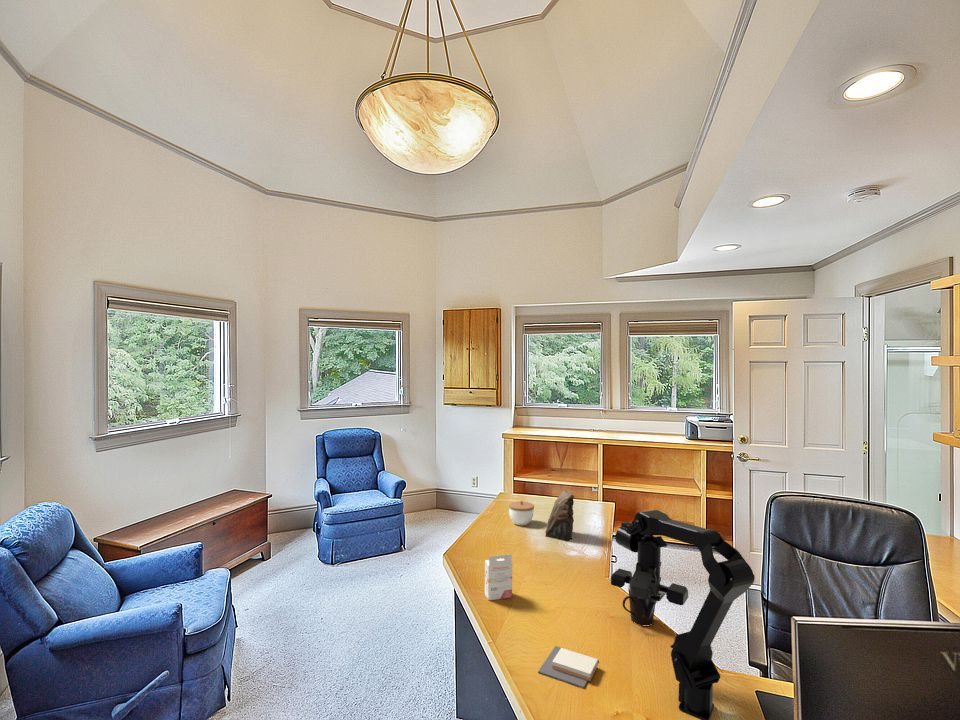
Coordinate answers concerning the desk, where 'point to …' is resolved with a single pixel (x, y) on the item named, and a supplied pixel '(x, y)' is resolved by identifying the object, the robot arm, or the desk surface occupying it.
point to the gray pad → (548, 671)
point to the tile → (575, 664)
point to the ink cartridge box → (498, 577)
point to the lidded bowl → (521, 512)
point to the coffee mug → (637, 610)
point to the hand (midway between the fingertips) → (647, 618)
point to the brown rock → (561, 518)
